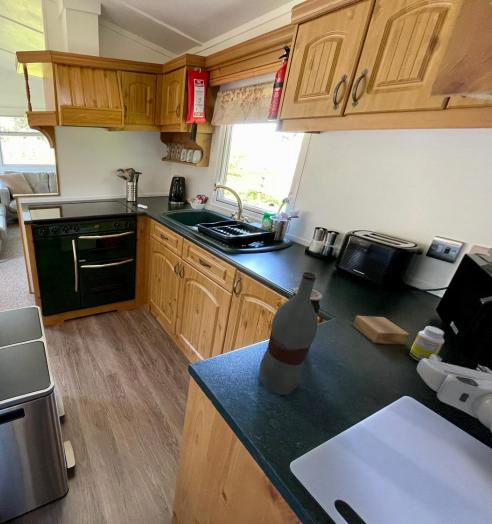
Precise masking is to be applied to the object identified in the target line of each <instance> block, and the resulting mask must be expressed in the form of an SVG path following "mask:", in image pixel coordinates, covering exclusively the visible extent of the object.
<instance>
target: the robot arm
mask: <svg viewBox="0 0 492 524" xmlns="http://www.w3.org/2000/svg"><path fill="white" fill-rule="evenodd" d="M442 360H443V358H442V357H440V355H438V354H437V355H433V354H431V356H430V357H429V359H427V358H423V359H422V360H421V361H420V362H419V361H418V364H417V367H416V371H417V374H419V376H420V378H421V379H422V380H423V381H424V382H425V384H426V385H427V386H428V387H429V388H430V389H432V390H433V391H435V392H436V398H437V399H438V400H439V401H440V402H442V403H444V404H446V405H449V406H451V407H453V408H456V409H458V410H459V411H462V412H464V413H466V414H468V415H469V416H471V417H473V418H475V419H478V420H479V422H480V423H481V424H482V425H483V426H484V427H486V428H488V429H489V431H490V434H492V370H491V369H490V368H489V367H487V366H483V365H479V364H478V365H477V366H476V368H475V369H471V368H468V367H463V366H459V365H456V364H455V365H454V364H450V363H447V362H443V361H442Z"/></svg>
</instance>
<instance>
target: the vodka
mask: <svg viewBox="0 0 492 524" xmlns="http://www.w3.org/2000/svg"><path fill="white" fill-rule="evenodd" d="M317 278H318V276H317V275H316V274H315V273H313V272H309V271H304V272H303V273H302V276H301V279H300V283H299V286H298V287H299V289H298V292H297V294H296V295H295V296H293V297H292V298H291V299H289V298H288V300H286V301H285V302H284V303H282V304H281V305H280V306H279V307H278V308H277V310H276V312H275V313H274V315H273V318H272V321H271V327H270V334H269V340H268V345H267V347H266V350H265V351H264V354H263V356H262V358H261V361H260V364H259V372H258V373H259V379H260V382H261V384H262V385H263V386H264V387H265V388H266V389H267V390H269V391H270V392H272V393H274V394H278V395H282V396H283V395H284V396H287V395H290V394H292V392H293V391H295V390H296V388H297V387H298V384H299V383H300V381H301V379H302V378H301V377H302V373H303V365H304V361H305V359H306V357H307V354H308V352H309V350H310V348H311V346H312V344H313V342H314V341H315V339H316V336H317V330H318V315H316V313H315V310H314V308H313V305H312V303H311V300H310V296H311V292H312V289H313V290H314V286H315V281H316V279H317Z"/></svg>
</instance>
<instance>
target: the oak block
mask: <svg viewBox="0 0 492 524" xmlns="http://www.w3.org/2000/svg"><path fill="white" fill-rule="evenodd" d="M352 326H353V327H354V328H355V329H356V330H358V331H359V332H360V333H361V334H363V335H364V336H366V338H368V339H369V340H370V341H371V342H372V343H374V344H386V345H387V344H388V345H405V344H406V341H407V340H408V337H409V336H410V334H409V333H408V332H407V331H405V330H404V329H402V328H400V327H399V326H397V325H396V324H395V323H393V322H392V321H390V320H389V319H388V318H386V317H384V316H371V315H356V316H355V319H354V320H353V323H352Z"/></svg>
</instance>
